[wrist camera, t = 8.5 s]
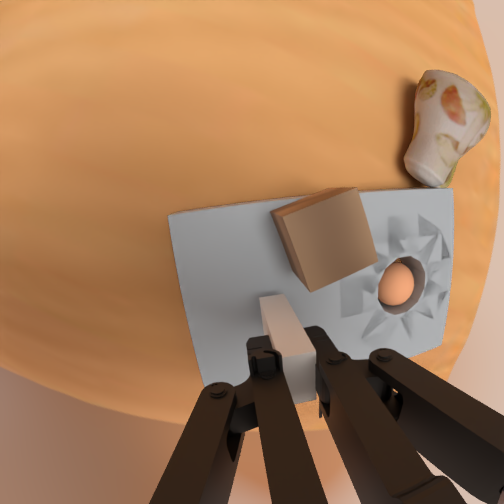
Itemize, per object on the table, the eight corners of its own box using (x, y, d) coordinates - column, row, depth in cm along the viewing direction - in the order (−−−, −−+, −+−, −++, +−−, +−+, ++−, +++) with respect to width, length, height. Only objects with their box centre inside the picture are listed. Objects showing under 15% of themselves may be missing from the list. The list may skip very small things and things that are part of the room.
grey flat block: (210, 375, 23) (208, 401, 19) (177, 211, 20) (167, 215, 16) (421, 329, 24) (441, 345, 20) (427, 187, 21) (452, 188, 17)
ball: (375, 310, 19) (419, 303, 18) (369, 264, 20) (413, 256, 18) (375, 306, 22) (413, 300, 21) (370, 266, 23) (408, 260, 21)
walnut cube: (292, 271, 17) (310, 293, 14) (269, 211, 17) (282, 216, 13) (348, 246, 17) (378, 261, 14) (329, 188, 17) (357, 187, 13)
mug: (373, 171, 20) (438, 84, 11) (392, 113, 24) (436, 43, 14) (441, 219, 20) (520, 159, 10) (448, 152, 23) (500, 95, 14)
